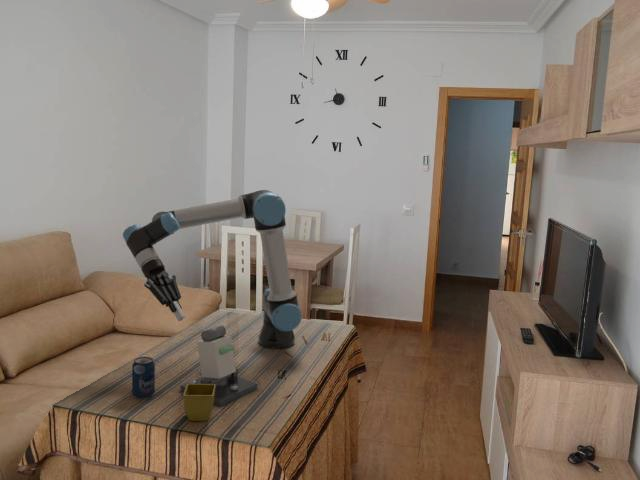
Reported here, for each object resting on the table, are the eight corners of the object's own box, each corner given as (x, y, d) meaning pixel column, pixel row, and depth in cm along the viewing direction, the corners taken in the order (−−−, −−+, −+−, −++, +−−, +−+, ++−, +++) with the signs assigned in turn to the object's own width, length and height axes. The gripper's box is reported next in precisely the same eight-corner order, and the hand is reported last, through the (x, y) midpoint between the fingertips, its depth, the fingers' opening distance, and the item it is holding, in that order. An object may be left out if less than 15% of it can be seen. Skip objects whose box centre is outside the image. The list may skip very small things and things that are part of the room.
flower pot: (186, 410, 184) (187, 383, 183) (215, 411, 185) (216, 383, 183) (182, 424, 175) (182, 395, 174) (212, 424, 176) (213, 395, 175)
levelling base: (180, 391, 198) (180, 375, 197) (218, 375, 213) (218, 360, 212) (220, 406, 188) (220, 390, 187) (257, 389, 203) (258, 373, 202)
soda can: (142, 401, 189) (142, 365, 187) (127, 396, 192) (127, 360, 190) (159, 394, 194) (159, 359, 192) (144, 389, 198) (144, 354, 196)
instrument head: (200, 384, 198) (193, 331, 197) (221, 376, 206) (215, 324, 205) (221, 386, 192) (214, 331, 192) (242, 377, 201) (235, 325, 200)
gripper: (159, 267, 221) (190, 320, 214) (130, 272, 210) (161, 328, 204) (169, 255, 217) (201, 309, 210) (140, 260, 206) (172, 316, 200)
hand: (181, 318), depth 207 cm, fingers closed
